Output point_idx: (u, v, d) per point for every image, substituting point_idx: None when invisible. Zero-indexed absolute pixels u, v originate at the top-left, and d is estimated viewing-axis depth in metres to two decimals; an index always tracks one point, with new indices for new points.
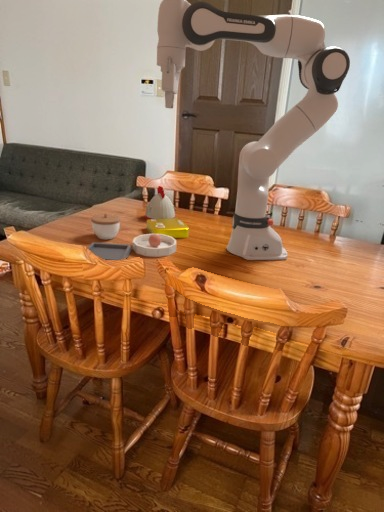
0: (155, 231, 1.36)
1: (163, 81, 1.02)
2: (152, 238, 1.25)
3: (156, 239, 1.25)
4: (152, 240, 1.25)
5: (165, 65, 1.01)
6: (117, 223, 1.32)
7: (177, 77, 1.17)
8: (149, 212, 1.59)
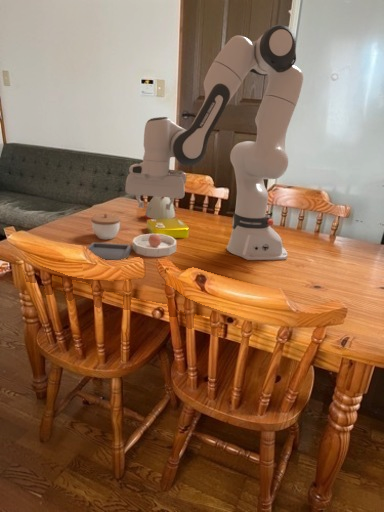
0: (155, 231, 1.37)
1: (184, 191, 1.19)
2: (152, 238, 1.25)
3: (156, 239, 1.25)
4: (152, 240, 1.25)
5: (182, 178, 1.18)
6: (117, 223, 1.32)
7: None
8: (149, 212, 1.59)
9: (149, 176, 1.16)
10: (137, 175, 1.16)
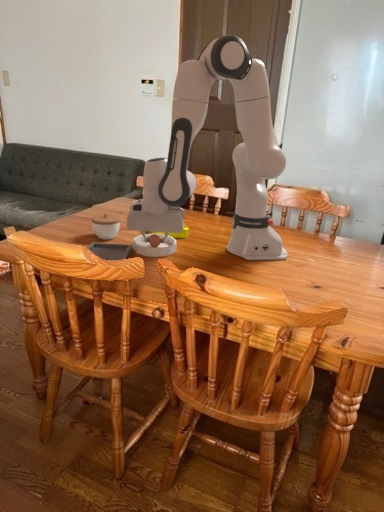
0: None
1: (182, 226, 1.24)
2: (152, 238, 1.25)
3: (156, 239, 1.25)
4: (152, 240, 1.25)
5: (181, 214, 1.22)
6: (117, 223, 1.32)
7: None
8: None
9: (149, 213, 1.21)
10: (137, 212, 1.20)
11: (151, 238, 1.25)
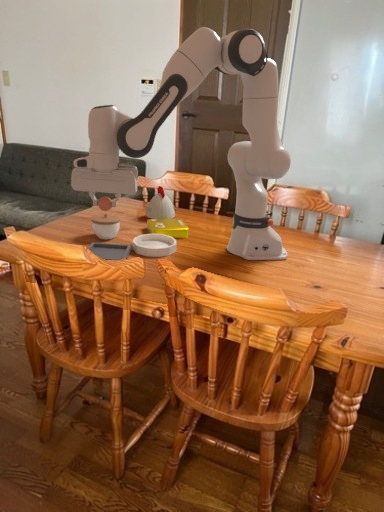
0: (155, 231, 1.37)
1: (135, 187, 1.09)
2: (101, 200, 1.10)
3: (106, 202, 1.10)
4: (101, 202, 1.10)
5: (133, 173, 1.07)
6: (117, 223, 1.32)
7: None
8: (149, 212, 1.59)
9: (96, 170, 1.06)
10: (83, 169, 1.05)
11: (100, 200, 1.10)
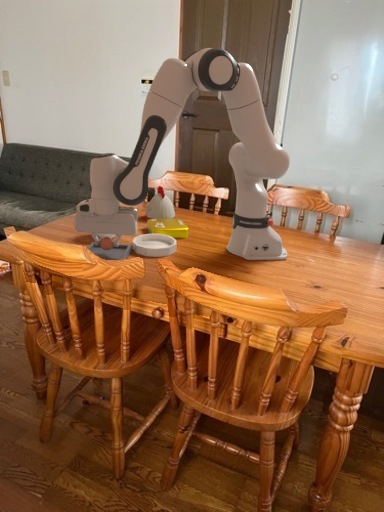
0: (154, 231, 1.37)
1: (135, 228, 1.14)
2: (103, 241, 1.15)
3: (108, 242, 1.15)
4: (103, 243, 1.15)
5: (133, 215, 1.12)
6: None
7: None
8: (149, 212, 1.59)
9: (98, 214, 1.11)
10: (85, 213, 1.11)
11: (102, 241, 1.15)
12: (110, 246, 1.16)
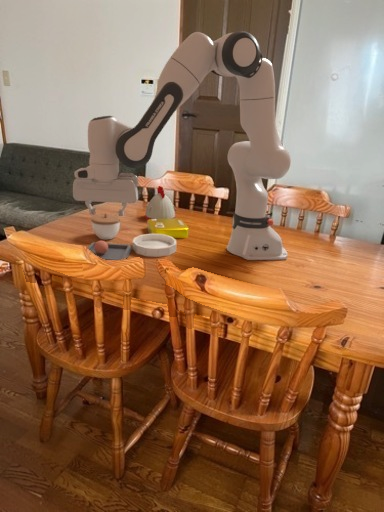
0: (154, 231, 1.37)
1: (136, 195, 1.10)
2: (95, 248, 1.16)
3: (98, 245, 1.16)
4: (96, 249, 1.16)
5: (133, 182, 1.08)
6: (117, 223, 1.32)
7: None
8: (149, 212, 1.59)
9: (97, 180, 1.07)
10: (84, 180, 1.07)
11: (95, 248, 1.16)
12: (103, 246, 1.16)
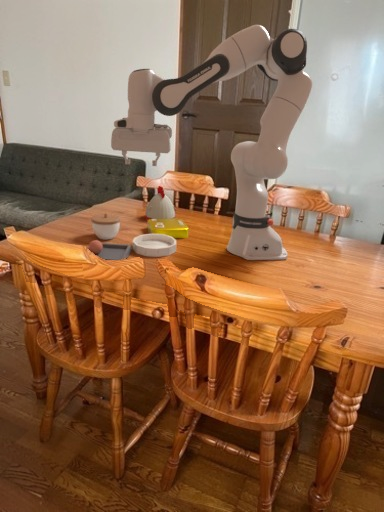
0: (154, 231, 1.37)
1: (169, 146, 1.19)
2: (90, 250, 1.17)
3: (90, 246, 1.16)
4: (92, 251, 1.16)
5: (167, 132, 1.18)
6: (117, 223, 1.32)
7: None
8: (149, 212, 1.59)
9: (134, 130, 1.16)
10: (122, 129, 1.16)
11: (91, 251, 1.17)
12: (94, 244, 1.16)
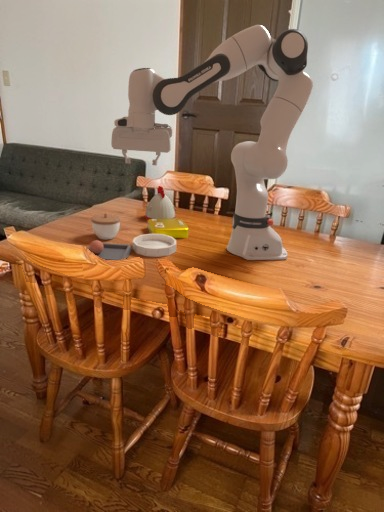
0: (154, 231, 1.37)
1: (170, 145, 1.19)
2: (91, 250, 1.16)
3: (91, 246, 1.16)
4: (92, 250, 1.16)
5: (168, 132, 1.18)
6: (117, 223, 1.32)
7: None
8: (149, 212, 1.59)
9: (134, 129, 1.16)
10: (122, 128, 1.16)
11: (91, 251, 1.17)
12: (96, 244, 1.16)
